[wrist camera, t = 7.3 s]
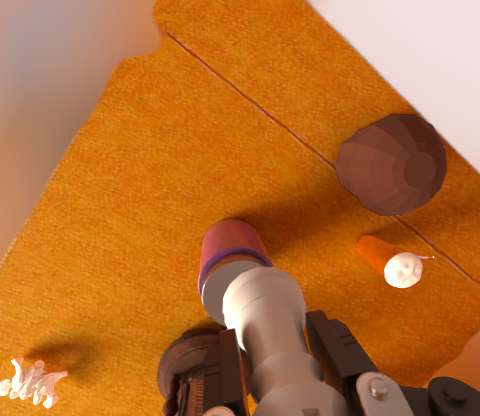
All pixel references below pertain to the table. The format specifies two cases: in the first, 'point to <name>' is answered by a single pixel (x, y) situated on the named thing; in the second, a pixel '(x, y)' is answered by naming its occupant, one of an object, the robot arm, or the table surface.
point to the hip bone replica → (32, 383)
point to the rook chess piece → (278, 346)
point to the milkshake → (391, 261)
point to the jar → (230, 244)
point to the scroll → (189, 372)
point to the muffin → (393, 164)
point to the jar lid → (225, 280)
